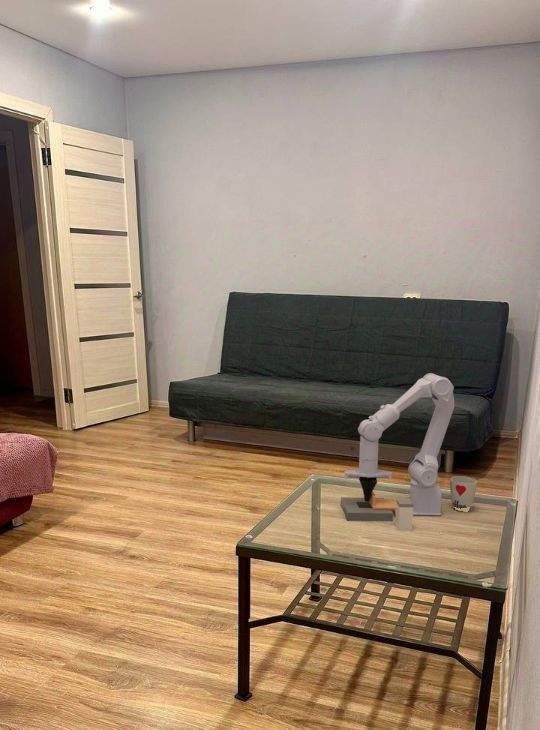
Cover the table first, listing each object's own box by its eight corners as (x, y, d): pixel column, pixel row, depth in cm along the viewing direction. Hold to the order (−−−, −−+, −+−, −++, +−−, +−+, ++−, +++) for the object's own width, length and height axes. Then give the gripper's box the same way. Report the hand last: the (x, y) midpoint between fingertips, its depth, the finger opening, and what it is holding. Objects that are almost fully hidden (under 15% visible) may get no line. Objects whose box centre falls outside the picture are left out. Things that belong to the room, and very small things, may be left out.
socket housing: (383, 505, 195) (383, 497, 195) (392, 521, 181) (393, 513, 181) (340, 504, 194) (340, 497, 194) (347, 520, 181) (347, 512, 180)
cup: (443, 507, 194) (445, 477, 193) (461, 503, 198) (462, 474, 197) (462, 515, 187) (464, 485, 186) (480, 511, 191) (482, 481, 190)
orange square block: (392, 500, 192) (393, 490, 191) (398, 509, 184) (399, 498, 183) (368, 500, 191) (368, 489, 191) (373, 509, 183) (373, 497, 183)
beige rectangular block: (408, 525, 178) (409, 499, 177) (411, 530, 174) (413, 504, 173) (395, 525, 178) (396, 499, 177) (398, 530, 174) (399, 503, 173)
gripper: (388, 455, 190) (386, 496, 191) (343, 454, 189) (342, 495, 191) (393, 461, 183) (391, 504, 184) (346, 460, 182) (345, 503, 184)
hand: (366, 500), depth 187 cm, fingers closed
